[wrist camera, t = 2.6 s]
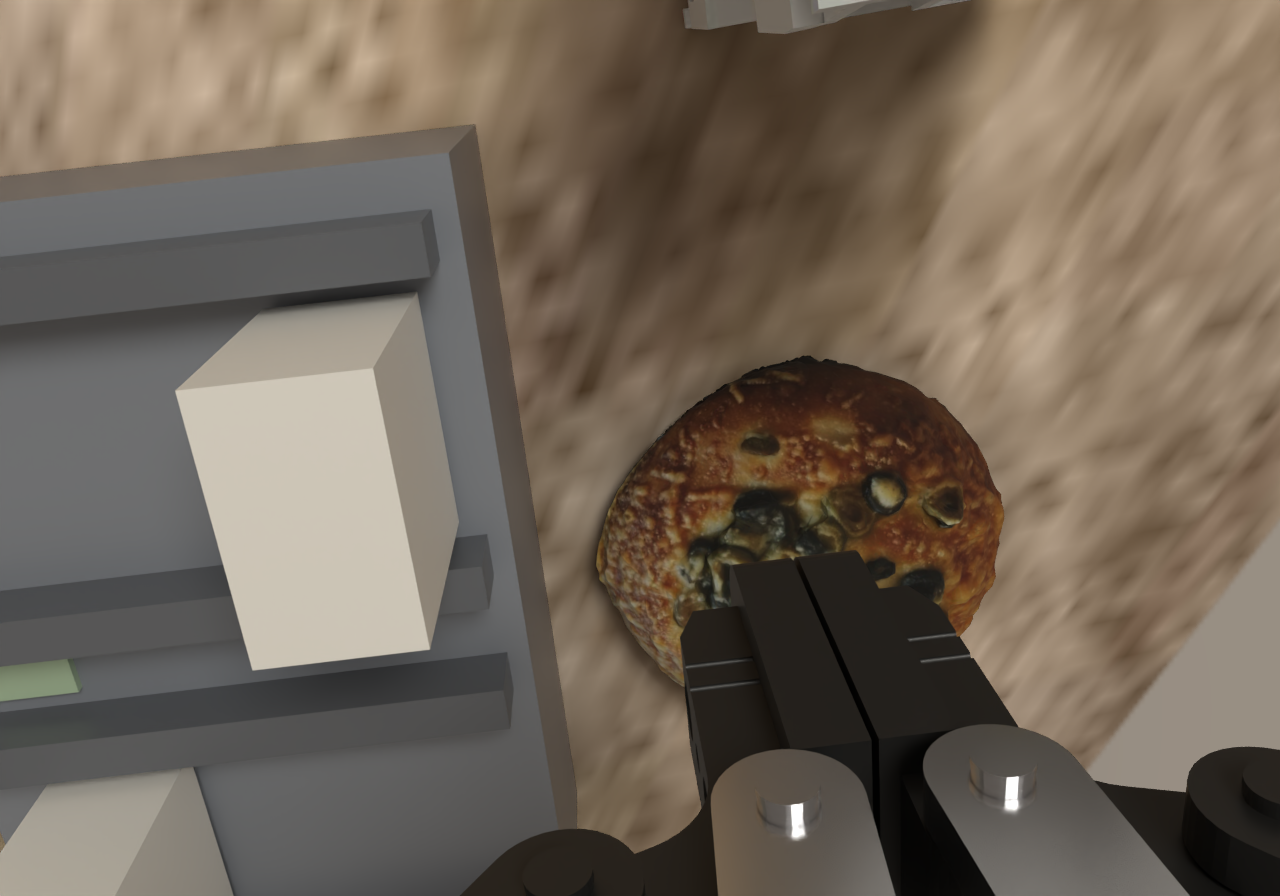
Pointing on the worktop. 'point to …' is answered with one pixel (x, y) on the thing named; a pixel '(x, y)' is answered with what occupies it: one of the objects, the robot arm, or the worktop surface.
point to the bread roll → (800, 497)
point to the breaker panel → (185, 540)
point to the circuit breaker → (788, 12)
